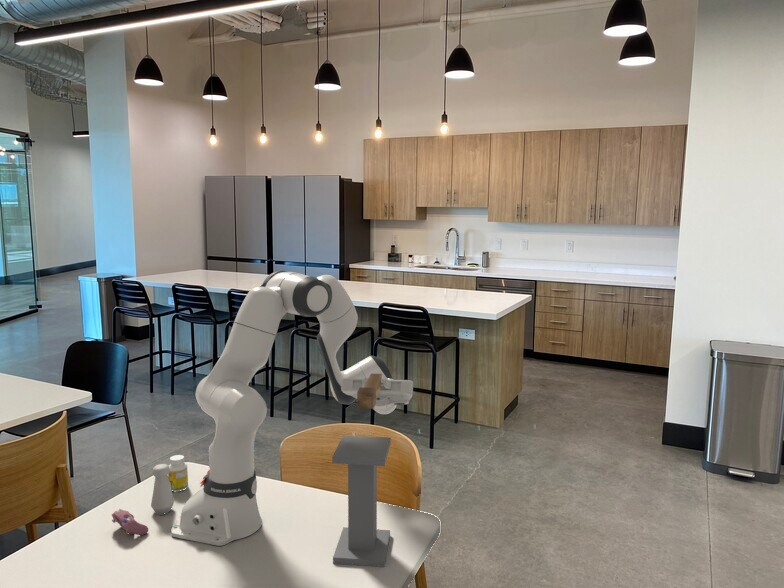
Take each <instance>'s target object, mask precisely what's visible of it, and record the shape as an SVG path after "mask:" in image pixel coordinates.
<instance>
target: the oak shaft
mask: <svg viewBox="0 0 784 588" xmlns="http://www.w3.org/2000/svg"><path fill="white" fill-rule="evenodd" d="M380 379H382V374H370V376H369V378H368V380H367V382H366V384H365V386H364V387H360V388H359V390H358V392H357V400H356V402H357V404H356V406H357V407H356V408H357V409H365V410H366V409H372V410H374V407H375V404H376V397H377V395H378V392H379V390H380V387H381V386H380Z"/></svg>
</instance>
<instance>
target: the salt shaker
mask: <svg viewBox="0 0 784 588" xmlns="http://www.w3.org/2000/svg"><path fill="white" fill-rule="evenodd" d="M169 471H170V468H169V465H168V463H167V464H166V463H159V464H156V465H155V466H153V468H152V475H153V476H154V483H153V490H152V496H151V503H150V507H151V508H152V510H153V511H154V513H155V515H158V514H163V515H165V514H164V513H167V514H169V513H170V512H171V510H172V509H171V508H173V506H174V503H175V499H174V495H173V492H172V490H171V486H170V482H169V478H168V474H169ZM169 511H170V512H169ZM168 512H169V513H168Z"/></svg>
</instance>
